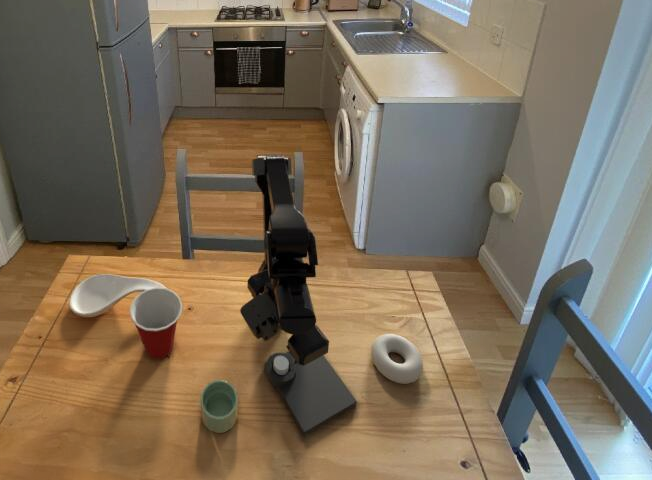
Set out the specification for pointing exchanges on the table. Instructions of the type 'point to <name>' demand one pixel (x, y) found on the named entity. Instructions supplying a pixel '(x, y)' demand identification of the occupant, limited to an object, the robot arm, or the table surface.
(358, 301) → the table surface
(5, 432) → the table surface
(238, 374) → the table surface
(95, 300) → the spoon rest
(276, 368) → the button
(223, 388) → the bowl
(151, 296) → the plastic cup
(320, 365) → the scale
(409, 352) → the donut
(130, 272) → the table surface
